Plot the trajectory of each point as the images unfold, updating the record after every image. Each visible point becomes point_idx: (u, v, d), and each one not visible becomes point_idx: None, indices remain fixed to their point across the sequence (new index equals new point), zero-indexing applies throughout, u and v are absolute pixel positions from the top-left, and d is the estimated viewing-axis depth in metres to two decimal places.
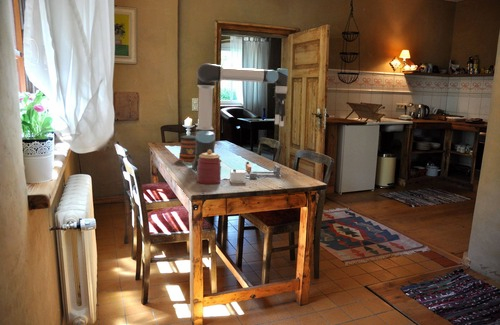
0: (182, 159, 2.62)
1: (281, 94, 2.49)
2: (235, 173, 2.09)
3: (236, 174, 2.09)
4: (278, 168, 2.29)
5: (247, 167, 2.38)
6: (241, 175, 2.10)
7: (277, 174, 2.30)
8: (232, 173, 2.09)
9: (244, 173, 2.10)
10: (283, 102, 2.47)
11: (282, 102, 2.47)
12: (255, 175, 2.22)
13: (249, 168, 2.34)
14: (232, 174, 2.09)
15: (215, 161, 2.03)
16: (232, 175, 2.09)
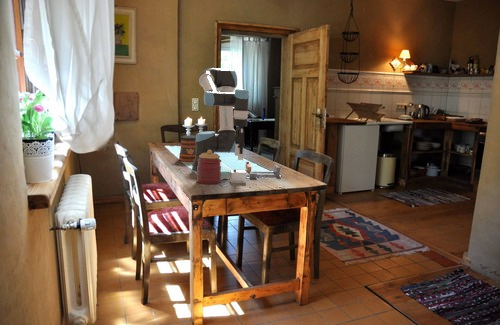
0: (182, 159, 2.62)
1: (240, 120, 2.03)
2: (235, 173, 2.09)
3: (236, 174, 2.09)
4: (278, 168, 2.29)
5: (247, 167, 2.38)
6: (241, 175, 2.10)
7: (277, 174, 2.30)
8: (232, 173, 2.08)
9: (244, 173, 2.10)
10: (242, 131, 2.01)
11: (241, 131, 2.01)
12: (255, 175, 2.22)
13: (249, 168, 2.34)
14: (232, 174, 2.09)
15: (215, 161, 2.03)
16: (232, 175, 2.09)
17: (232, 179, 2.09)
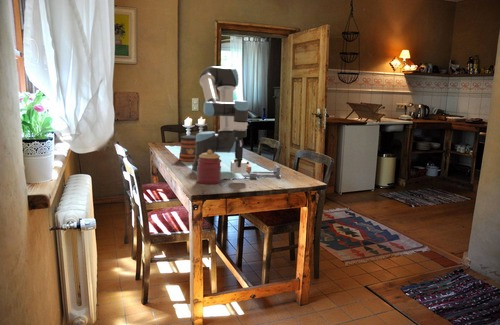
0: (182, 159, 2.62)
1: (239, 132, 2.04)
2: None
3: None
4: (278, 168, 2.29)
5: (247, 167, 2.38)
6: (242, 165, 2.09)
7: (277, 174, 2.30)
8: (233, 163, 2.08)
9: (245, 163, 2.09)
10: (241, 145, 2.03)
11: (240, 145, 2.03)
12: (255, 175, 2.22)
13: (249, 168, 2.34)
14: (233, 164, 2.08)
15: (215, 161, 2.03)
16: (233, 165, 2.09)
17: (232, 169, 2.09)
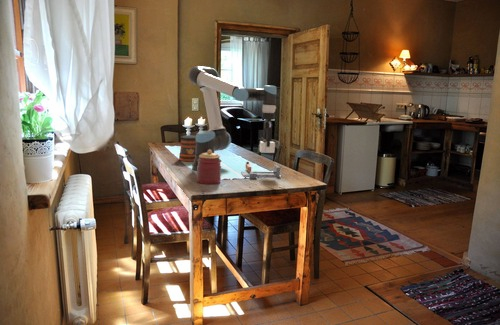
0: (182, 159, 2.62)
1: (268, 114, 2.23)
2: (265, 143, 2.27)
3: None
4: (278, 168, 2.29)
5: (247, 167, 2.38)
6: (270, 145, 2.28)
7: (277, 174, 2.30)
8: (262, 143, 2.26)
9: (273, 143, 2.28)
10: (270, 126, 2.21)
11: (269, 126, 2.21)
12: (255, 175, 2.22)
13: (249, 168, 2.34)
14: (262, 144, 2.27)
15: (215, 161, 2.03)
16: (262, 145, 2.27)
17: (262, 149, 2.27)
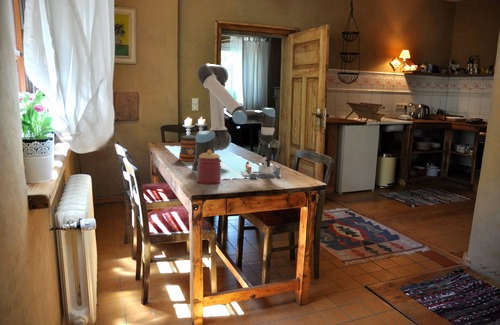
0: (182, 159, 2.62)
1: (267, 136, 2.25)
2: (263, 166, 2.29)
3: (264, 167, 2.30)
4: (278, 168, 2.29)
5: (247, 167, 2.38)
6: None
7: (277, 174, 2.30)
8: (261, 166, 2.29)
9: (272, 166, 2.30)
10: (269, 146, 2.23)
11: (268, 146, 2.23)
12: (255, 175, 2.22)
13: (249, 168, 2.34)
14: (261, 167, 2.29)
15: (215, 161, 2.03)
16: (261, 168, 2.29)
17: (260, 171, 2.30)
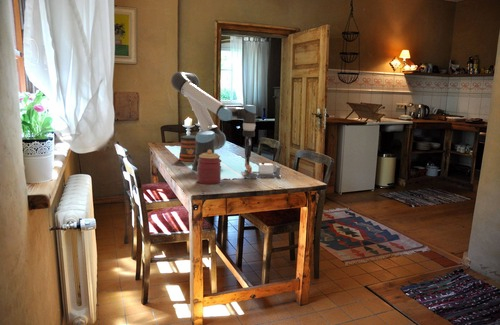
0: (182, 159, 2.62)
1: (248, 132, 2.38)
2: (263, 166, 2.29)
3: (264, 167, 2.30)
4: (278, 168, 2.29)
5: (247, 167, 2.37)
6: (269, 167, 2.30)
7: (277, 174, 2.30)
8: (261, 166, 2.29)
9: (272, 166, 2.30)
10: (250, 144, 2.37)
11: (249, 144, 2.37)
12: (255, 175, 2.22)
13: (249, 168, 2.33)
14: (261, 167, 2.29)
15: (215, 161, 2.03)
16: (261, 168, 2.29)
17: (260, 171, 2.30)
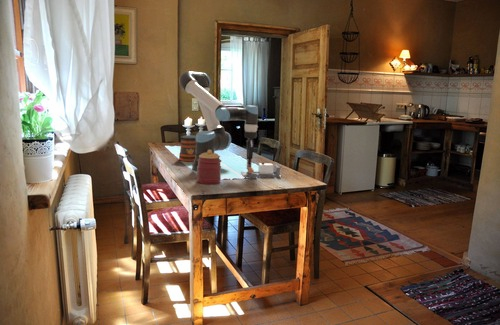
0: (182, 159, 2.62)
1: (250, 133, 2.31)
2: (263, 166, 2.29)
3: (264, 167, 2.30)
4: (278, 168, 2.29)
5: (249, 170, 2.29)
6: (269, 167, 2.30)
7: (277, 174, 2.30)
8: (261, 166, 2.29)
9: (272, 166, 2.30)
10: (252, 146, 2.30)
11: (251, 146, 2.30)
12: (255, 175, 2.22)
13: (251, 171, 2.26)
14: (261, 167, 2.29)
15: (215, 161, 2.03)
16: (261, 168, 2.29)
17: (260, 171, 2.30)
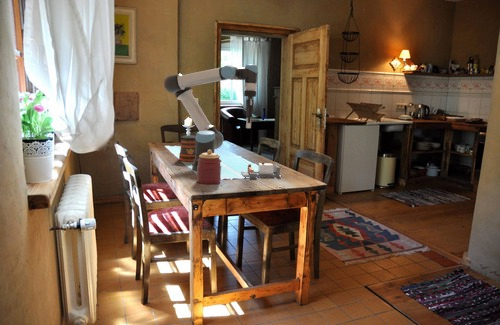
0: (182, 159, 2.62)
1: (250, 91, 2.36)
2: (263, 166, 2.29)
3: (264, 167, 2.30)
4: (278, 168, 2.29)
5: (249, 170, 2.29)
6: (269, 167, 2.30)
7: (277, 174, 2.30)
8: (261, 166, 2.29)
9: (272, 166, 2.30)
10: (251, 104, 2.35)
11: (250, 104, 2.35)
12: (255, 175, 2.22)
13: (251, 171, 2.26)
14: (261, 167, 2.29)
15: (215, 161, 2.03)
16: (261, 168, 2.29)
17: (260, 171, 2.30)
